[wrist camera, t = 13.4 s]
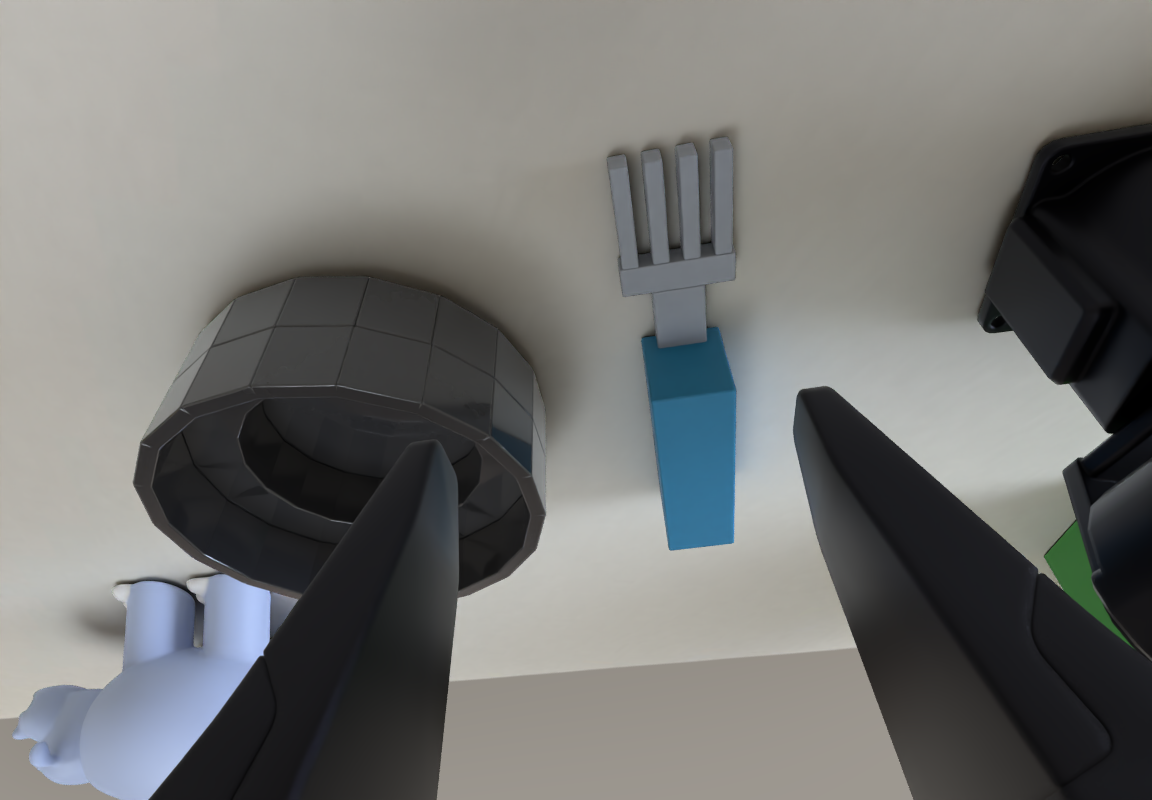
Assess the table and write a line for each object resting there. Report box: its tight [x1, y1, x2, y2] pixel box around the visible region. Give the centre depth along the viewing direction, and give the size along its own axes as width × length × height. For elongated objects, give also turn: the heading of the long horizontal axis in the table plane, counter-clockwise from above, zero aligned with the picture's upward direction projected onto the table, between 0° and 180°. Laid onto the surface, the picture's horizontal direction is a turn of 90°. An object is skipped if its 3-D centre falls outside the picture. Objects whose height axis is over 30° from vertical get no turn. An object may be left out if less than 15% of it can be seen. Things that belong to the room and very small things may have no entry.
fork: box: [607, 137, 736, 550], centre depth 22 cm, size 16×3×3 cm, turn 10°
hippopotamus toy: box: [12, 574, 271, 800], centre depth 33 cm, size 11×15×10 cm
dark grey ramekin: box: [133, 276, 546, 599], centre depth 22 cm, size 12×12×5 cm
